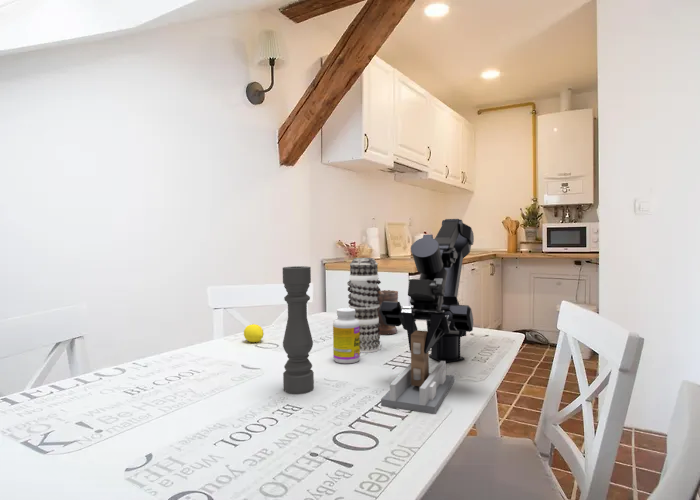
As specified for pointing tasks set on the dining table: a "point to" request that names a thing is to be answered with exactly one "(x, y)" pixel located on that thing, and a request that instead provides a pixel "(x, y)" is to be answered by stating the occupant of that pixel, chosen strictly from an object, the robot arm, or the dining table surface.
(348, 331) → the supplement bottle
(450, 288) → the robot arm
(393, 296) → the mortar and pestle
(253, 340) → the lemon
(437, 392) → the grey long channel piece
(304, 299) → the candle holder
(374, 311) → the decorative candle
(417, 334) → the brown wooden block
